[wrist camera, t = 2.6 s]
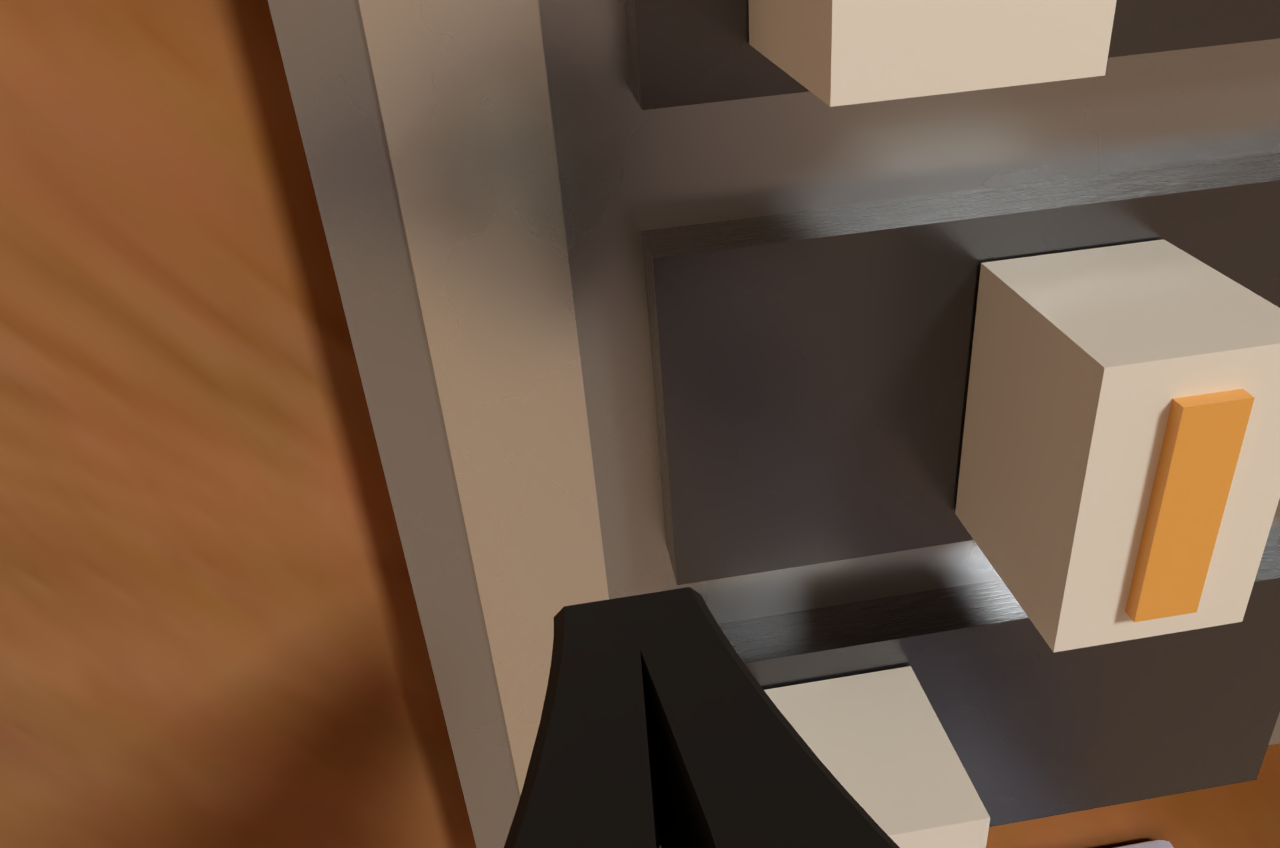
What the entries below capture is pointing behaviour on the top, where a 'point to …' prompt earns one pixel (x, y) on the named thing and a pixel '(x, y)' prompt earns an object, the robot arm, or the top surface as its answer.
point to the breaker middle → (1121, 440)
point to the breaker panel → (761, 355)
